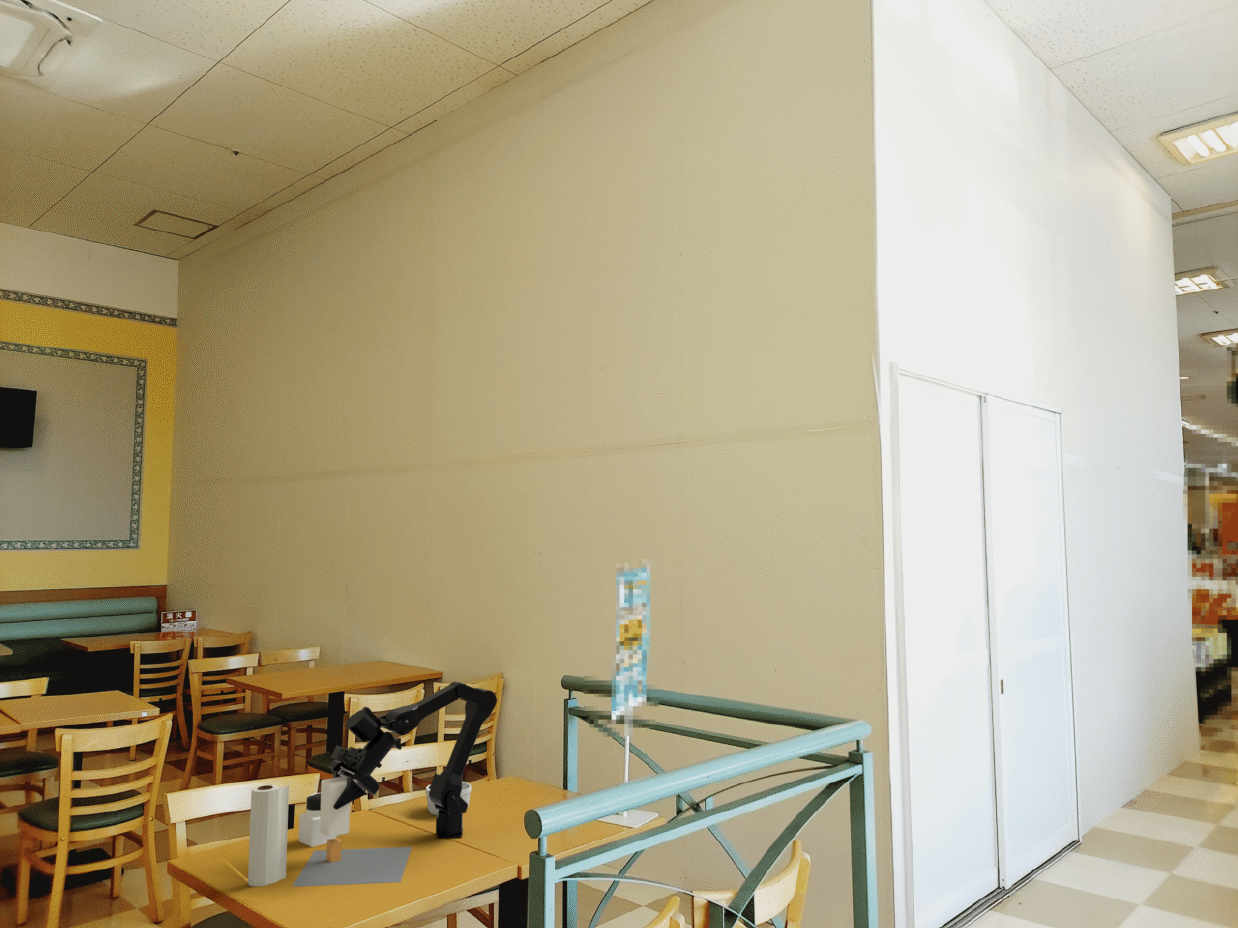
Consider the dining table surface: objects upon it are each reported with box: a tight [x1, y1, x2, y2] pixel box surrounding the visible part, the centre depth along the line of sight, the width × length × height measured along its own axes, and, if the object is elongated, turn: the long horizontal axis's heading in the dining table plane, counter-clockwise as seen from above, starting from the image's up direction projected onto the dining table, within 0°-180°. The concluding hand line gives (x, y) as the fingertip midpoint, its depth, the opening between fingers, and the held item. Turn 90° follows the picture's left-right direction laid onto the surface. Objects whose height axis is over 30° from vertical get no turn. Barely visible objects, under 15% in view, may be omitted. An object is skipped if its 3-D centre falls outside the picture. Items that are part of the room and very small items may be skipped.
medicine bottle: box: [298, 792, 338, 848], centre depth 232 cm, size 7×7×12 cm
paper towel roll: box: [247, 784, 290, 887], centre depth 204 cm, size 7×6×21 cm
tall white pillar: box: [320, 777, 351, 838], centre depth 218 cm, size 5×5×12 cm
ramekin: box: [425, 781, 473, 816], centre depth 260 cm, size 13×13×7 cm
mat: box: [291, 846, 413, 888], centre depth 213 cm, size 24×24×1 cm
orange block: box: [326, 837, 342, 863], centre depth 217 cm, size 3×3×5 cm
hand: (330, 805), depth 217 cm, fingers closed on tall white pillar, 5 cm apart
